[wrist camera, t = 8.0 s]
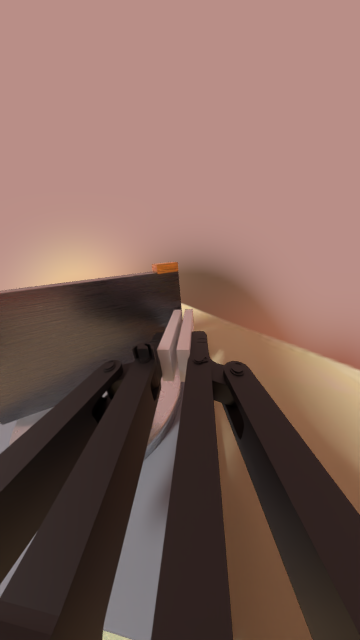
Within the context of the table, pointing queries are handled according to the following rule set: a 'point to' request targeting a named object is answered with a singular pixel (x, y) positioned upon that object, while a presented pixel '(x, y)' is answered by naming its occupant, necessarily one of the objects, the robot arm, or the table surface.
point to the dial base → (135, 541)
